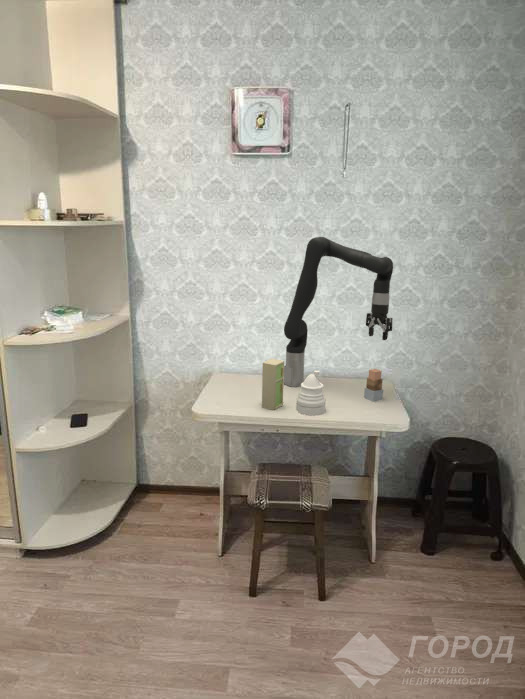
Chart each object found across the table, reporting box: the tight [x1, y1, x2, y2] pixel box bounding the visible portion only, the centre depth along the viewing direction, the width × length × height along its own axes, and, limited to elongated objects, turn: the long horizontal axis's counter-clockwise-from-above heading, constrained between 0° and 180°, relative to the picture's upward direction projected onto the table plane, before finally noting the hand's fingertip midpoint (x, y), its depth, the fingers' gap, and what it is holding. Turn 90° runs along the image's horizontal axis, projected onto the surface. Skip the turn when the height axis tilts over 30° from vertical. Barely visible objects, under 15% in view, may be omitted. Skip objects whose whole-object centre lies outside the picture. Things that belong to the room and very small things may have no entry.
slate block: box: [363, 387, 384, 403], centre depth 247 cm, size 6×6×5 cm
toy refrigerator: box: [261, 358, 285, 411], centre depth 235 cm, size 8×7×21 cm
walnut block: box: [365, 377, 383, 391], centre depth 246 cm, size 5×5×5 cm
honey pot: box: [295, 370, 327, 416], centre depth 232 cm, size 13×13×18 cm
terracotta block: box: [367, 368, 382, 380], centre depth 245 cm, size 4×4×4 cm
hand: (377, 337), depth 240 cm, fingers open, 8 cm apart
